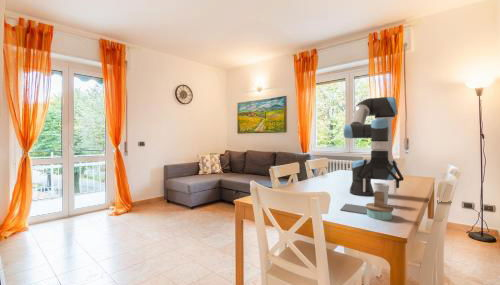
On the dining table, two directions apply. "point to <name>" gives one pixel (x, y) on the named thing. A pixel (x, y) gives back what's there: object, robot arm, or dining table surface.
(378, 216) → the bowl
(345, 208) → the mat
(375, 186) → the cup
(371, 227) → the dining table surface
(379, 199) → the lid
